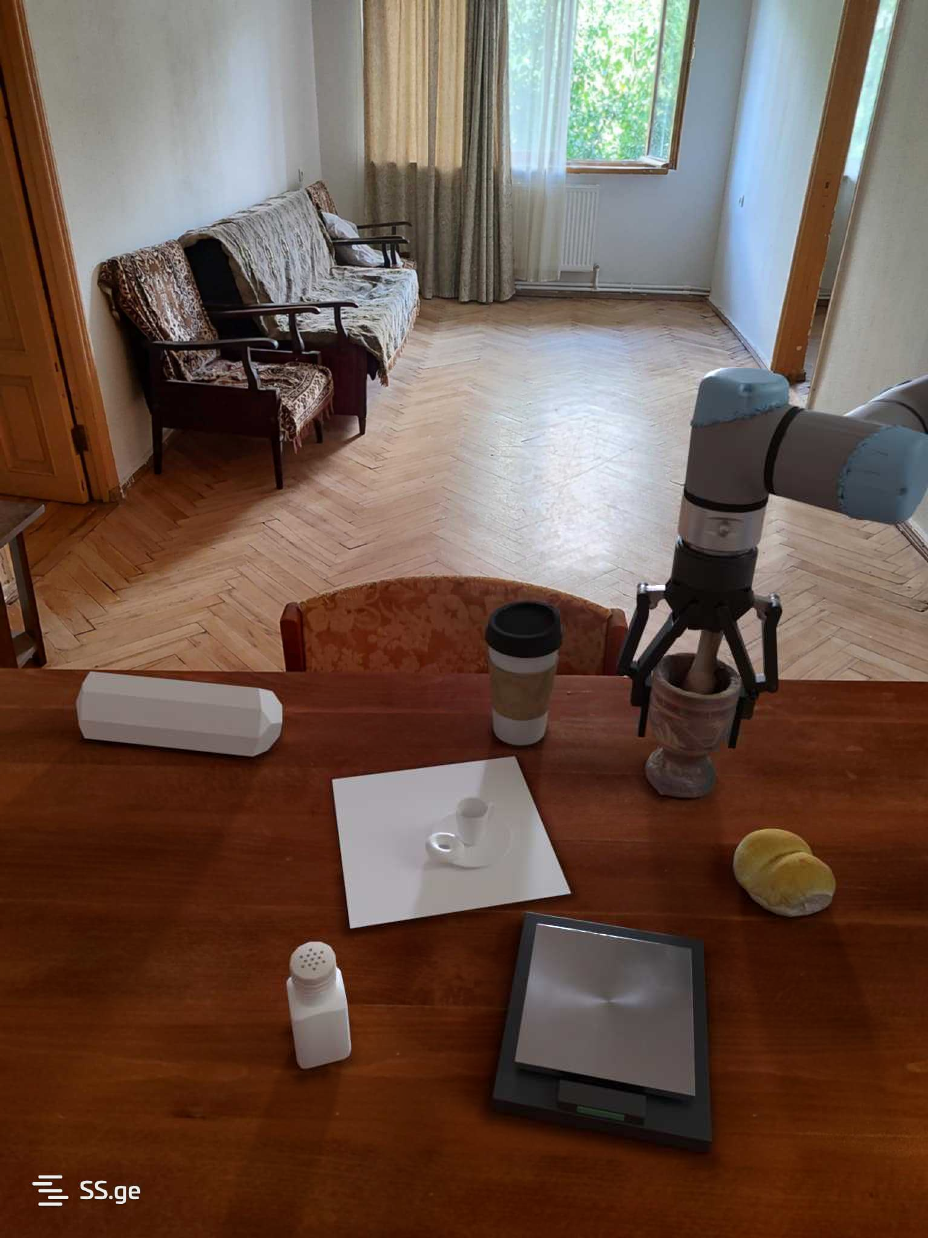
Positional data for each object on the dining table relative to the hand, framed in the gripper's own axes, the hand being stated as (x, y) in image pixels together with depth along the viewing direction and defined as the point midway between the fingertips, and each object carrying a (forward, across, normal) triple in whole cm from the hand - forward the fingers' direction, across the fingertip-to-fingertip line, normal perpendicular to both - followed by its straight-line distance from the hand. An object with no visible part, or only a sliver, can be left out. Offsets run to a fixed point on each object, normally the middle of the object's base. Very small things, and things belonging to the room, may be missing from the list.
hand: (685, 735), depth 93 cm
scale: (+4, -6, -33) cm, 34 cm away
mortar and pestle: (+5, 0, 0) cm, 5 cm away
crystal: (+4, -55, -5) cm, 56 cm away
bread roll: (+5, +9, -15) cm, 18 cm away
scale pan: (+2, -6, -33) cm, 34 cm away
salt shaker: (+5, -27, -39) cm, 48 cm away
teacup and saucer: (+5, -23, -15) cm, 28 cm away
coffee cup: (+5, -18, +3) cm, 19 cm away
